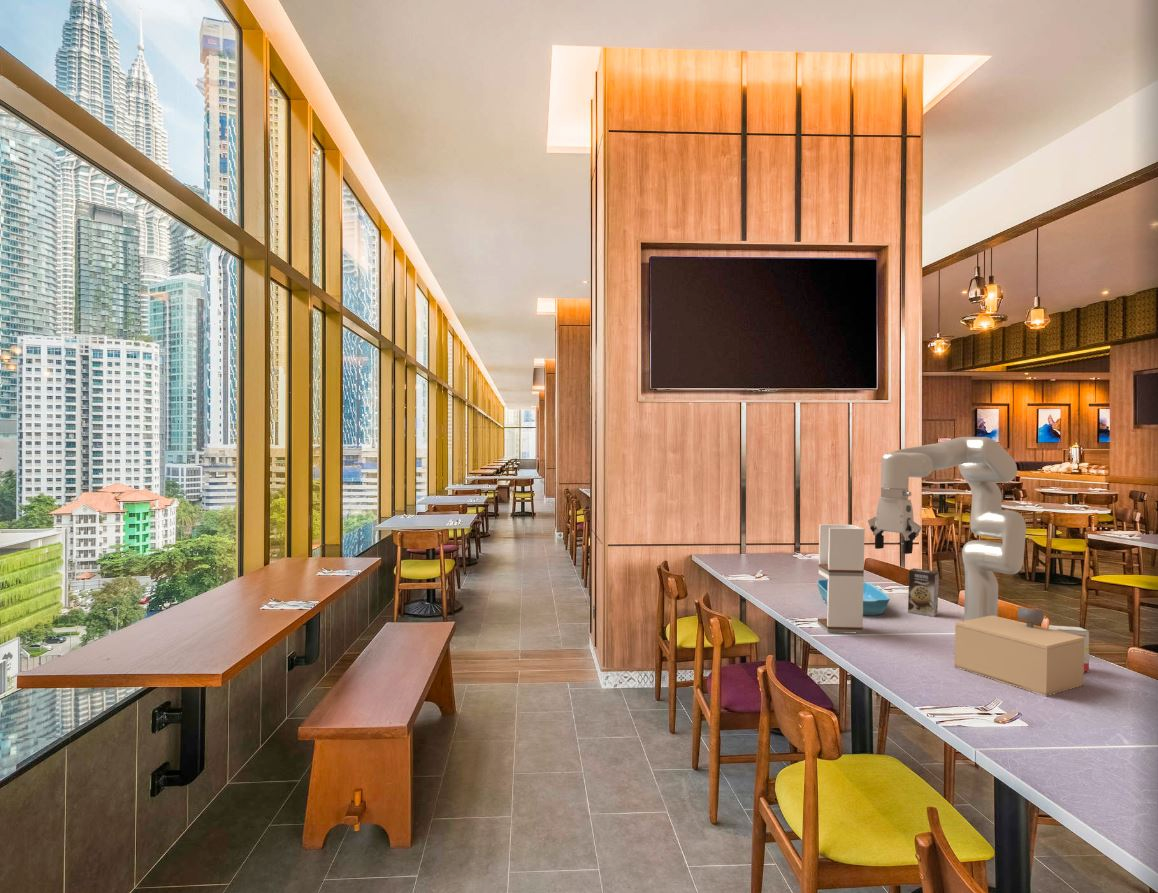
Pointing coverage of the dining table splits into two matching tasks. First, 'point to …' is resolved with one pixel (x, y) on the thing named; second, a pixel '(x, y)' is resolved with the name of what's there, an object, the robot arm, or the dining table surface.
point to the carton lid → (1022, 629)
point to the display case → (842, 576)
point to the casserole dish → (872, 597)
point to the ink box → (1079, 632)
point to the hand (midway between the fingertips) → (893, 550)
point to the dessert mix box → (923, 592)
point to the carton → (1020, 661)
